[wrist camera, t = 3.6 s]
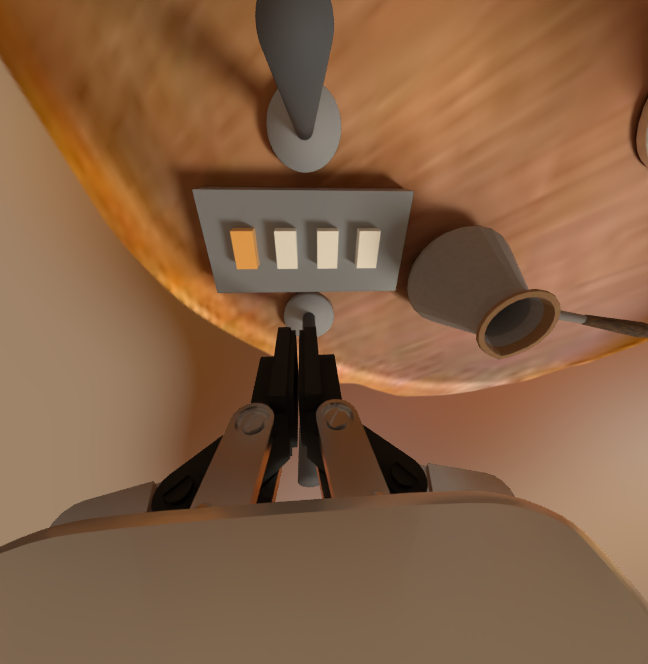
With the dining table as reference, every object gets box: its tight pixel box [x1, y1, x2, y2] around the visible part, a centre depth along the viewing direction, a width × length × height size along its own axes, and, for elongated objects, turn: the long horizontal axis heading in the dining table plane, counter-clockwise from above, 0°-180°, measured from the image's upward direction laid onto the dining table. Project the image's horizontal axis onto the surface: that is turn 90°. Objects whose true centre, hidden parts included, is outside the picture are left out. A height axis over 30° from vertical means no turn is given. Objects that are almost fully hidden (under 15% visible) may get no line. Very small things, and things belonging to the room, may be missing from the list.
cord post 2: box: [284, 292, 334, 487], centre depth 25 cm, size 6×6×21 cm
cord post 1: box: [255, 0, 341, 173], centre depth 14 cm, size 6×6×21 cm
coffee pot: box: [407, 226, 648, 359], centre depth 25 cm, size 21×12×15 cm, turn 87°
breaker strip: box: [192, 187, 414, 293], centre depth 26 cm, size 20×10×4 cm, turn 89°
